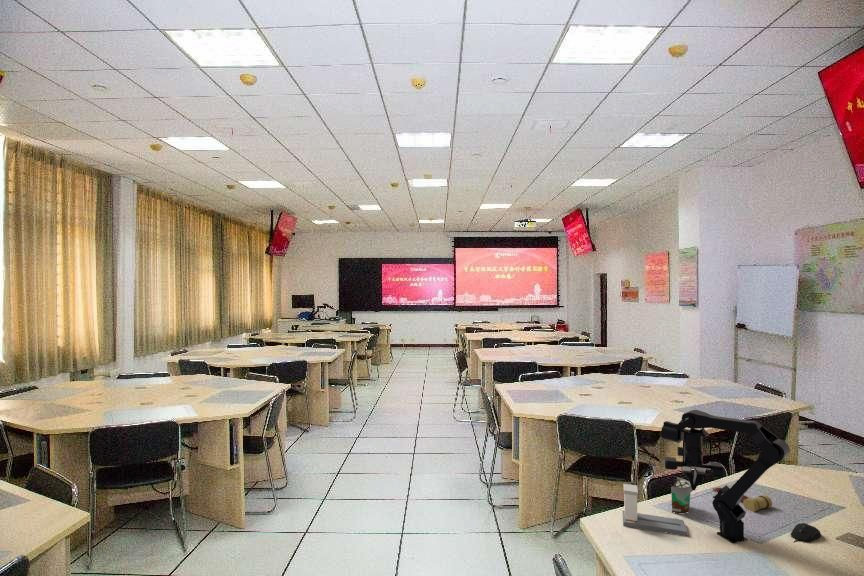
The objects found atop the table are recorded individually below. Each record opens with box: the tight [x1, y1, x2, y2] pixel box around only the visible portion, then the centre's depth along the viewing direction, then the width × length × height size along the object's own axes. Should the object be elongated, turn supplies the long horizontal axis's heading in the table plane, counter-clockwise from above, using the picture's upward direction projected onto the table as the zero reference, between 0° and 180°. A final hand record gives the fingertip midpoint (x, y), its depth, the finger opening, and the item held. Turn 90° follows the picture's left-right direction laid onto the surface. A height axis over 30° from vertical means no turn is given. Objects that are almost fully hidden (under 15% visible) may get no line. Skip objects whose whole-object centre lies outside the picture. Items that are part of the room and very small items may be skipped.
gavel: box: [711, 486, 773, 513], centre depth 188 cm, size 21×5×10 cm
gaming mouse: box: [790, 522, 822, 543], centre depth 159 cm, size 6×15×4 cm, turn 120°
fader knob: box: [623, 483, 639, 521], centre depth 170 cm, size 5×6×10 cm
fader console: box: [622, 510, 688, 537], centre depth 167 cm, size 20×9×2 cm, turn 69°
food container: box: [670, 477, 694, 514], centre depth 179 cm, size 12×6×10 cm, turn 143°
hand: (693, 490), depth 168 cm, fingers closed
